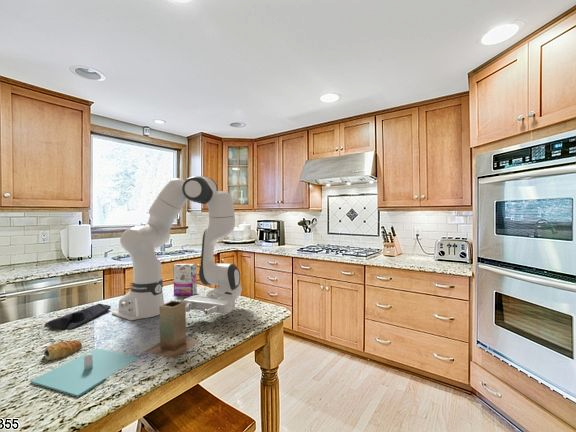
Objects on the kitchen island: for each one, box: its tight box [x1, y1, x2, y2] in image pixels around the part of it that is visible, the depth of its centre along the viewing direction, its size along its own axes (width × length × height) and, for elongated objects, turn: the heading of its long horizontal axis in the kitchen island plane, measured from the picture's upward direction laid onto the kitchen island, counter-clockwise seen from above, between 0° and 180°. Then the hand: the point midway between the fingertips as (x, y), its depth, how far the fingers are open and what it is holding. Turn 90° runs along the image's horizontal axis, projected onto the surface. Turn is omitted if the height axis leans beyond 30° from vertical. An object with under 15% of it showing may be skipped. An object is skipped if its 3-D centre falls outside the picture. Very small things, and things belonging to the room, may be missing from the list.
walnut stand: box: [144, 337, 200, 359], centre depth 91 cm, size 12×12×6 cm
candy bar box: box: [172, 263, 198, 297], centre depth 148 cm, size 11×5×16 cm, turn 80°
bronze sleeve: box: [159, 300, 187, 351], centre depth 91 cm, size 6×6×14 cm
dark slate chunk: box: [44, 303, 112, 330], centre depth 116 cm, size 15×22×5 cm
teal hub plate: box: [29, 347, 140, 398], centre depth 78 cm, size 18×18×5 cm
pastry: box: [43, 340, 83, 361], centre depth 88 cm, size 9×7×4 cm
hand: (195, 311), depth 102 cm, fingers open, 8 cm apart
